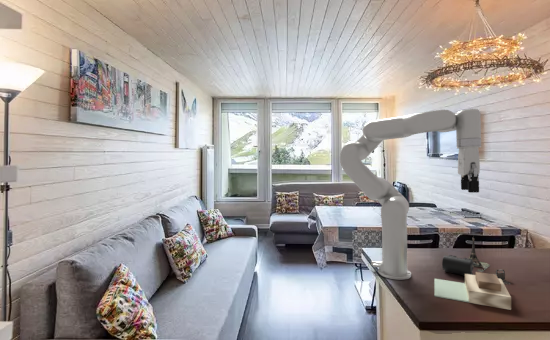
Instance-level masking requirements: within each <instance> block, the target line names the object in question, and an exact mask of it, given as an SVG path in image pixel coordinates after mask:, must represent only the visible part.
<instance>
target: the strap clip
mask: <svg viewBox="0 0 550 340" xmlns="http://www.w3.org/2000/svg"><path fill="white" fill-rule="evenodd" d="M498 271H499V272H498ZM500 271H501V272H500ZM495 275H497V277H498V278H499V279H502V281H503V283H504V285H511V282H509V281H508V280H506V273H505V269H496V271H495Z"/></svg>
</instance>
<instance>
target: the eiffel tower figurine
mask: <svg viewBox="0 0 550 340" xmlns="http://www.w3.org/2000/svg"><path fill="white" fill-rule="evenodd" d="M471 244H472V247H471V251H470V254H469V256H468V257H467V258H468V259H469V258H470V259H472V260H473V262H474V263H473V264H472V267H473V268H474V267H479V268H480V267H481V268H483V269H484V270H483V269H477V272H480V273H484V271H486V270H487V269H488V268H489V267H491V264H489V263H488V262H484V261H483V262H482V261H479V258H478V256H477V253H476V247H475V246H476V245H475V238H474V235H473V237H472V243H471Z"/></svg>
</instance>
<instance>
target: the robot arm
mask: <svg viewBox="0 0 550 340" xmlns="http://www.w3.org/2000/svg"><path fill="white" fill-rule="evenodd" d="M481 116H482V115H481V111H480V109H477V108H468V109H463V110H459V111H457V112H453V111H451V110H449V109H437V110H429V111H424V112H418V113H412V114H408V115H406V114H405V115H402V116H395V117H389V118H383V119H381V118H380V119H376V120H375V119H373V120H370V121H368V122H366V123H365V124H364V125H363V127H362V135H361V136H360V137H359V138H358V139H357V140H356V141H354V140H353V141H349V142H347V143H345V144H344V145H343V146H342V148H341V150H340V154H339V162H340V166H341V169H342V170H343V171H344V173H345V175H347V177H348V178H349V179H350V180H351V181H352V182H353V183H354V184H355V185H356V186H357V187H358V189H359V190H360V191H361V192H363V194H364V195H365V196H366V197H367V198H368V199H369V200H370V201H377V202H378V203H379V204H380V205H381V207H380V208H381V209H380V218H381V219H380V220H381V221H380V222H381V248H382V249H381V254H382V255H381V258H382V259H381V260H379V261H375V260H371V262H370V264H371V266H373V268H378V270H377V272H378V274H379V275H380V276H382V277H384V278H387V279H390V280H397V281H398V280H400V281H401V280H402V281H403V280H408V279H411V278H412V272H411V271H410V270H409V269H408V226H407V225H408V224H407V221H408V220H407V218H408V217H407V216H408V212H409V210H410V203H409V201H408V200H407V198H406V197H405V196H404V195H403V194H402V193H401V192H399V190H397V188H396V187H395V186H393V184H392V183H391V182H390V181H388V180H387V179H386V178H383V177H380V176H379V177H378V176H377V175H376V174H375V173H374V172H373V171H372V170H371V169H370V168H369V167H368V166H367V165H365V164H364V163H363V160H366V159H367V158H368V157H369V156H370V155H371V153H372V152H374V150H376V148H377V147H378V146H379V145H380V144H381V143H382V142H383V141H385V140H394V139H405V138H408V137H412V136H414V135H419V134H424V133H430V132H433V133H434V132H439V133H449V132H455V133H456V137H455V138H456V149H458V154H457V156H458V157H457V174H458V175H460V189H461V190H462V191H467V192H468V193H471V194H473V193H480V177H479V176H480V173H481V172H480V171H481V169H480V168H481V167H480V166H481V165H480V164H481V163H480V150H479V149H480V148H482V120H481Z"/></svg>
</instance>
